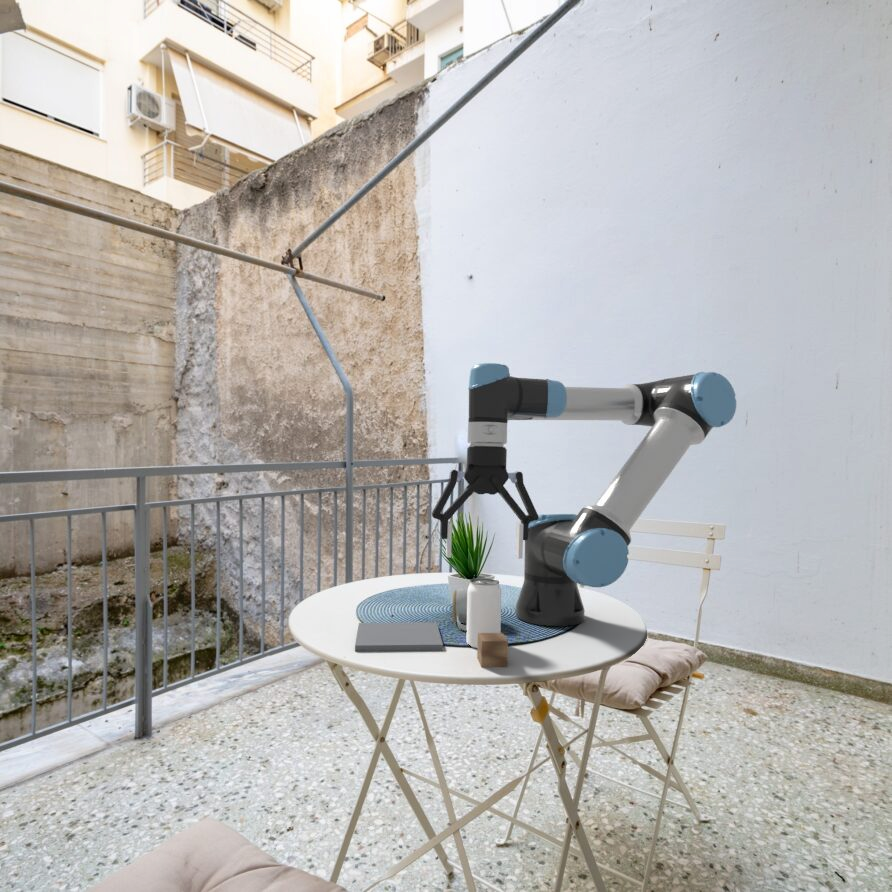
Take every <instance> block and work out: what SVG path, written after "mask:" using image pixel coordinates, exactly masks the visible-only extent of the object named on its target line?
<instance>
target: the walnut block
mask: <svg viewBox="0 0 892 892" xmlns="http://www.w3.org/2000/svg"><path fill="white" fill-rule="evenodd" d="M508 652H509V640H508V638H507V637H506V635H505V634H504V633H503V632H501V633H478V649H477V652H476V654H477V660H478V663H479V665H480V668H508V664H509V663H508V659H509V656H508V655H509V653H508Z"/></svg>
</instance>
